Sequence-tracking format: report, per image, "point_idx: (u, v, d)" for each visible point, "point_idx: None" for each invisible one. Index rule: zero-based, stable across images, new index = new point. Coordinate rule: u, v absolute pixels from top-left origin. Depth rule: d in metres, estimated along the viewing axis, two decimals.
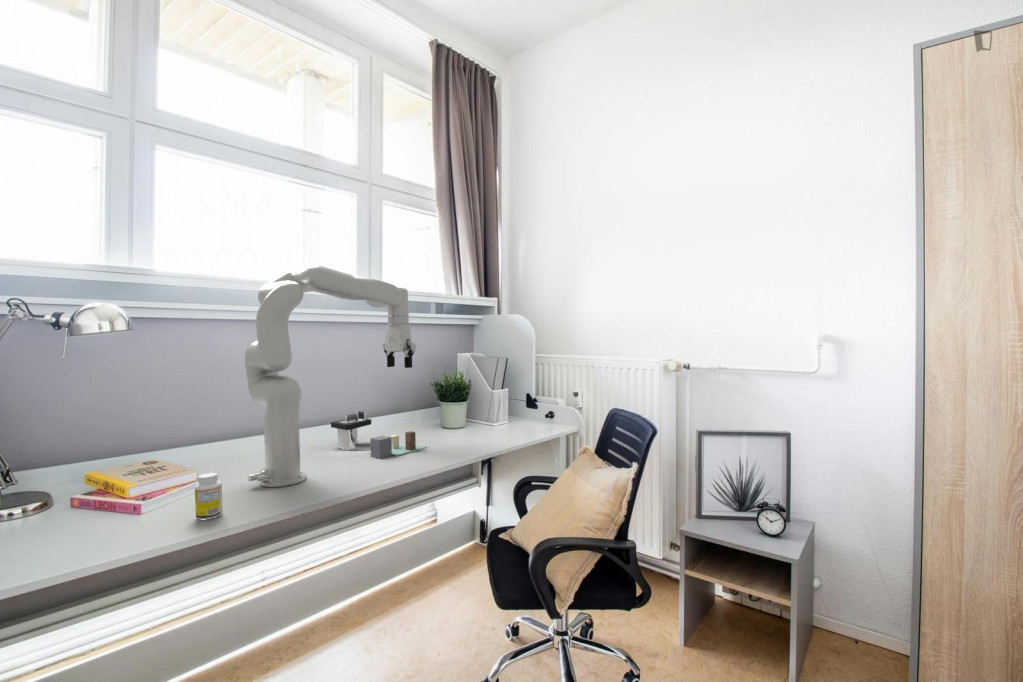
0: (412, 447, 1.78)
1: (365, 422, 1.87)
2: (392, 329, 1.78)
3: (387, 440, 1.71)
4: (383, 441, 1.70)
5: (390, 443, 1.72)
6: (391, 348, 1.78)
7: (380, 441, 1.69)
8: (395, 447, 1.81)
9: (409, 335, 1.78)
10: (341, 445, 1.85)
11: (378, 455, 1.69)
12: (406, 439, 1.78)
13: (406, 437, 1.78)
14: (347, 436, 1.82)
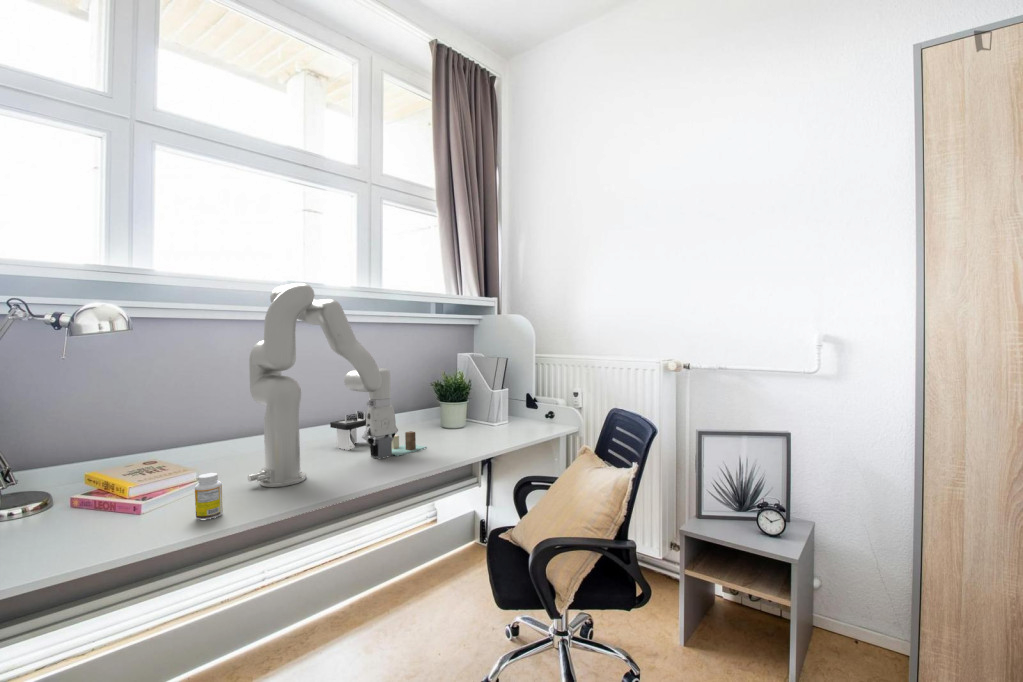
0: (412, 447, 1.78)
1: (364, 422, 1.87)
2: (385, 412, 1.70)
3: (387, 440, 1.71)
4: (383, 441, 1.70)
5: (390, 443, 1.72)
6: (383, 432, 1.70)
7: (380, 441, 1.69)
8: (395, 447, 1.81)
9: None
10: (340, 445, 1.85)
11: (378, 455, 1.69)
12: (406, 439, 1.78)
13: (406, 437, 1.78)
14: (346, 436, 1.82)
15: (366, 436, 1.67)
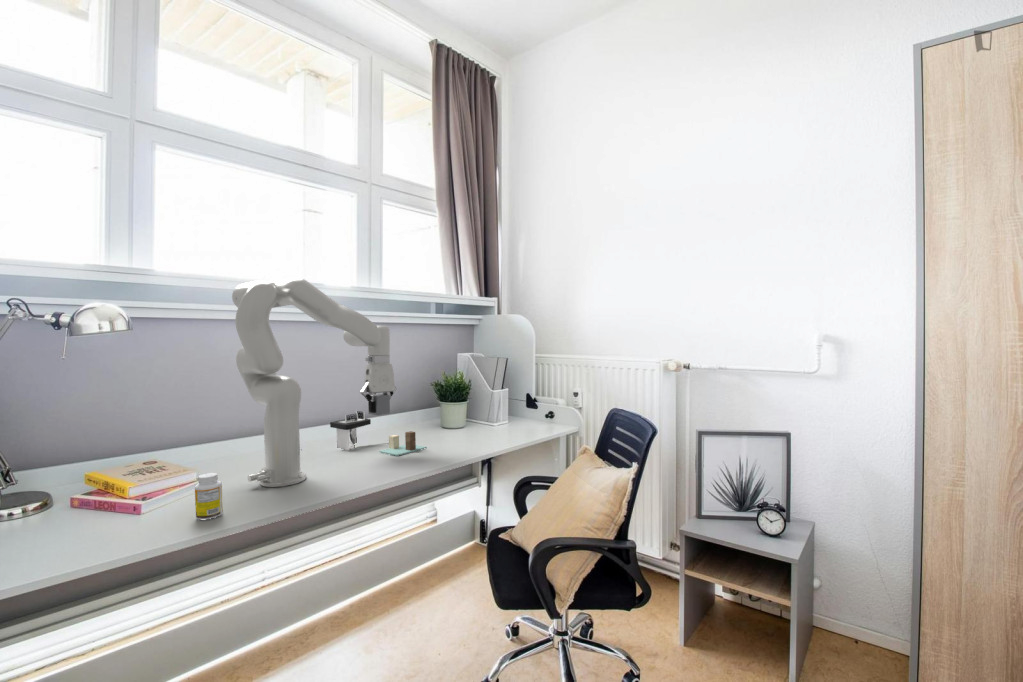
0: (412, 447, 1.78)
1: (364, 422, 1.87)
2: (383, 369, 1.70)
3: (385, 397, 1.71)
4: (381, 398, 1.69)
5: (388, 400, 1.72)
6: (381, 389, 1.69)
7: (378, 397, 1.68)
8: (395, 447, 1.81)
9: None
10: (340, 444, 1.85)
11: (376, 412, 1.68)
12: (406, 439, 1.78)
13: (406, 437, 1.78)
14: (346, 436, 1.82)
15: (364, 391, 1.66)
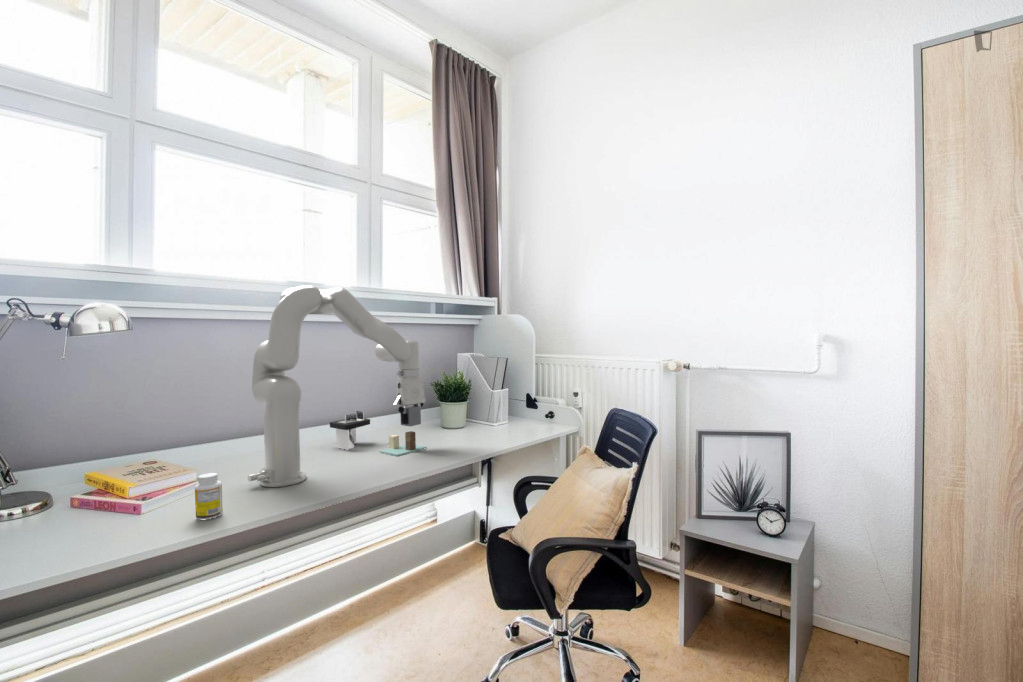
0: (412, 447, 1.78)
1: (364, 422, 1.87)
2: (414, 382, 1.77)
3: (416, 409, 1.78)
4: (413, 409, 1.77)
5: (419, 412, 1.79)
6: (413, 401, 1.77)
7: (410, 409, 1.76)
8: (395, 447, 1.81)
9: None
10: (340, 445, 1.85)
11: (408, 423, 1.76)
12: (406, 439, 1.78)
13: (406, 437, 1.78)
14: (346, 436, 1.82)
15: (397, 404, 1.74)
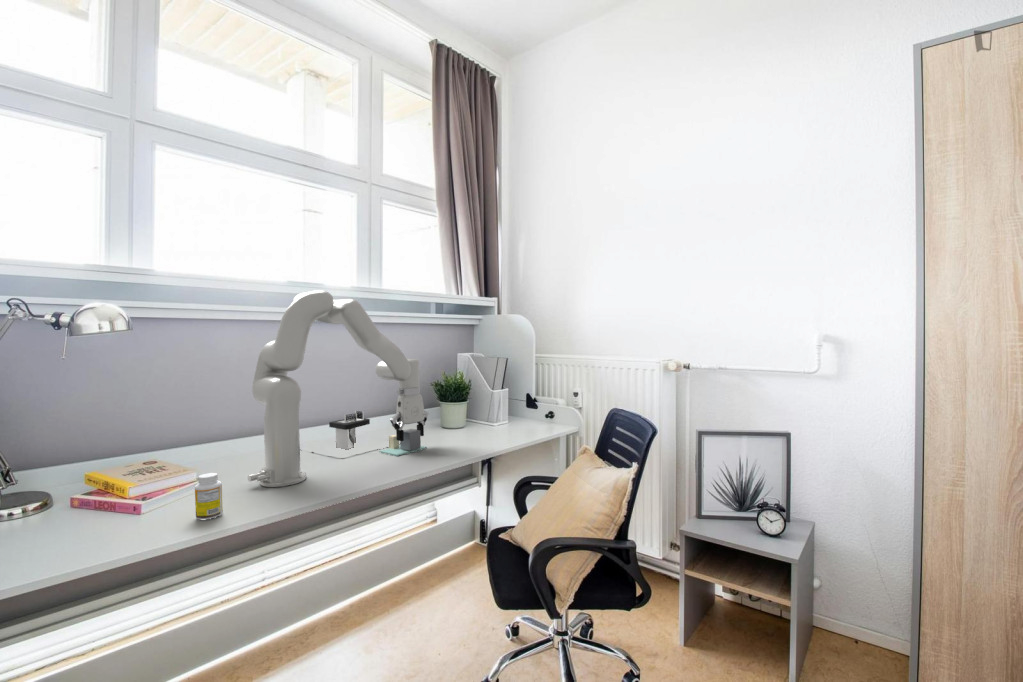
0: None
1: (363, 422, 1.87)
2: (414, 400, 1.77)
3: (416, 433, 1.78)
4: (413, 434, 1.77)
5: (419, 436, 1.79)
6: (413, 420, 1.76)
7: (410, 433, 1.76)
8: (395, 447, 1.81)
9: None
10: (339, 444, 1.85)
11: (408, 447, 1.76)
12: None
13: None
14: (346, 436, 1.82)
15: (394, 420, 1.72)
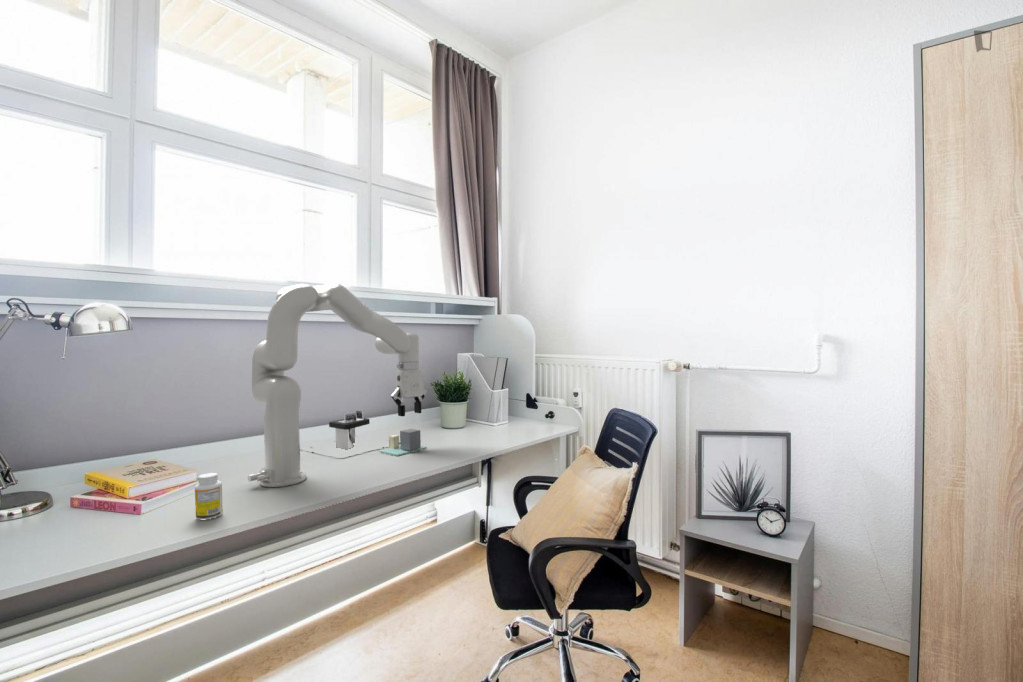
0: None
1: (363, 422, 1.88)
2: (414, 375, 1.77)
3: (416, 433, 1.78)
4: (413, 434, 1.77)
5: (419, 436, 1.79)
6: (412, 394, 1.76)
7: (410, 433, 1.76)
8: (395, 447, 1.81)
9: None
10: (339, 444, 1.85)
11: (408, 447, 1.76)
12: None
13: None
14: (346, 436, 1.83)
15: (395, 395, 1.73)
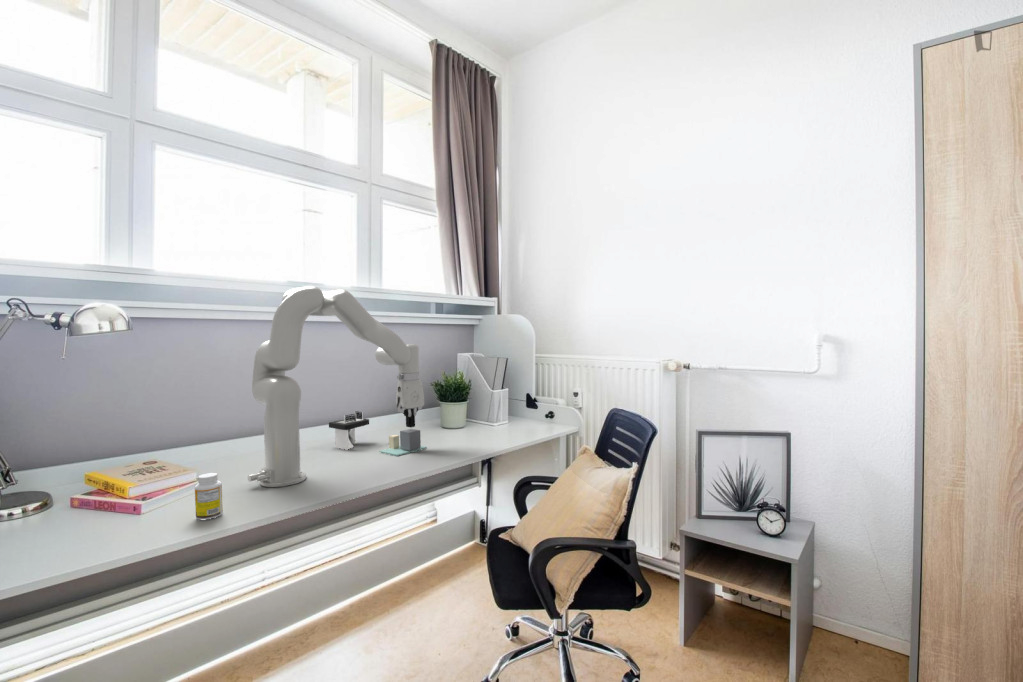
0: None
1: (363, 422, 1.88)
2: (414, 386, 1.77)
3: (416, 433, 1.78)
4: (413, 434, 1.77)
5: (419, 436, 1.79)
6: (413, 405, 1.76)
7: (410, 433, 1.76)
8: (395, 447, 1.81)
9: None
10: (339, 445, 1.85)
11: (408, 447, 1.76)
12: None
13: None
14: (345, 436, 1.83)
15: (401, 410, 1.75)
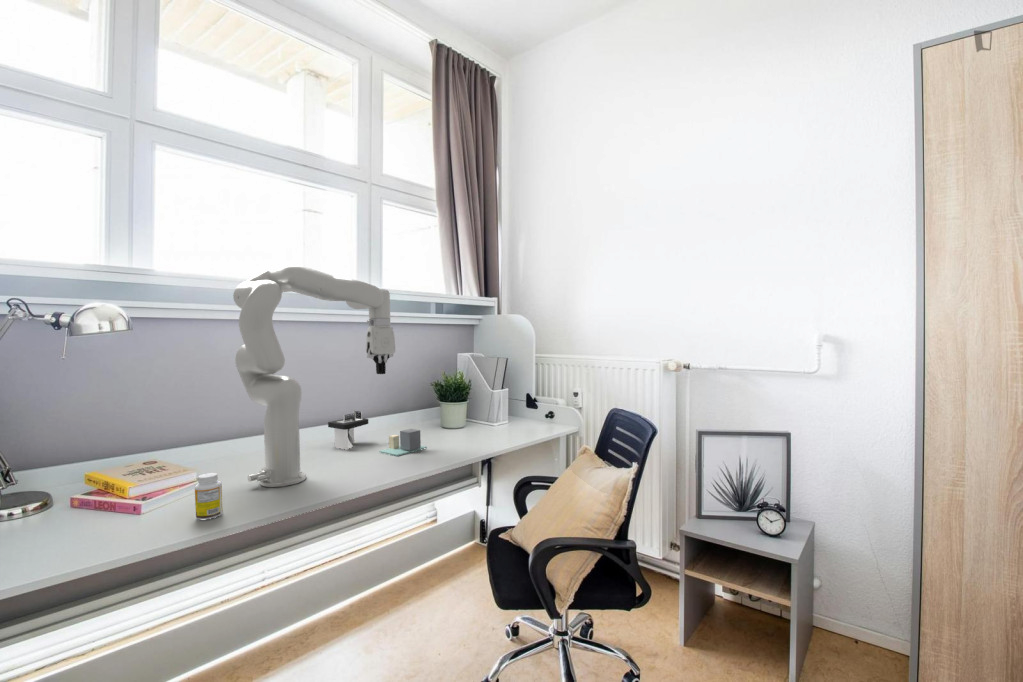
0: None
1: (362, 422, 1.88)
2: (384, 331, 1.74)
3: (416, 433, 1.78)
4: (413, 434, 1.77)
5: (419, 436, 1.79)
6: (383, 351, 1.73)
7: (410, 433, 1.76)
8: (395, 447, 1.81)
9: None
10: (338, 444, 1.85)
11: (408, 447, 1.76)
12: None
13: None
14: (345, 436, 1.83)
15: (371, 355, 1.72)
